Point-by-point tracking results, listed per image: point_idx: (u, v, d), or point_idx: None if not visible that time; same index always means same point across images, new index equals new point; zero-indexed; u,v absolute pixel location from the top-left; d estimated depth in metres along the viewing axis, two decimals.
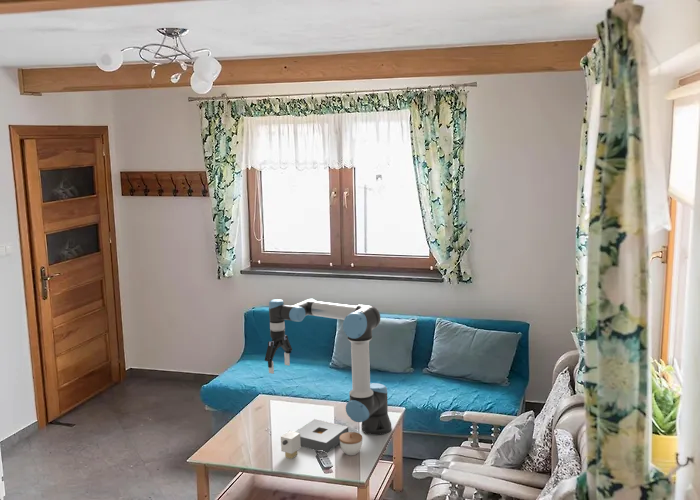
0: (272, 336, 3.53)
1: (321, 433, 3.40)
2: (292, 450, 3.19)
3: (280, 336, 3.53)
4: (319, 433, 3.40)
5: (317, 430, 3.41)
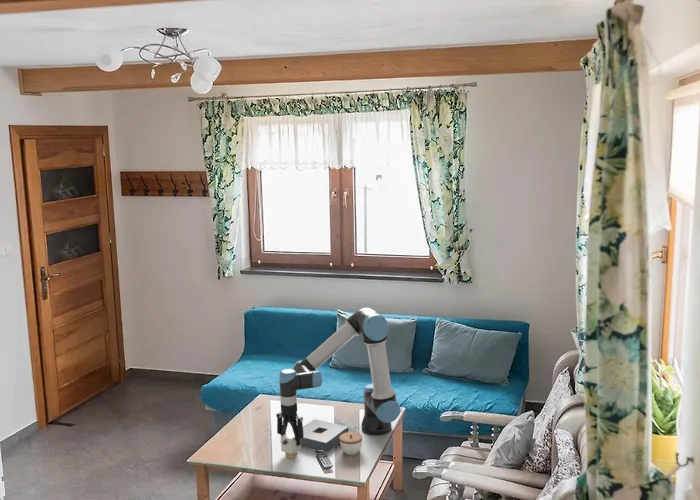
0: None
1: (321, 433, 3.40)
2: (292, 450, 3.19)
3: (281, 410, 3.18)
4: (319, 433, 3.40)
5: (317, 430, 3.41)
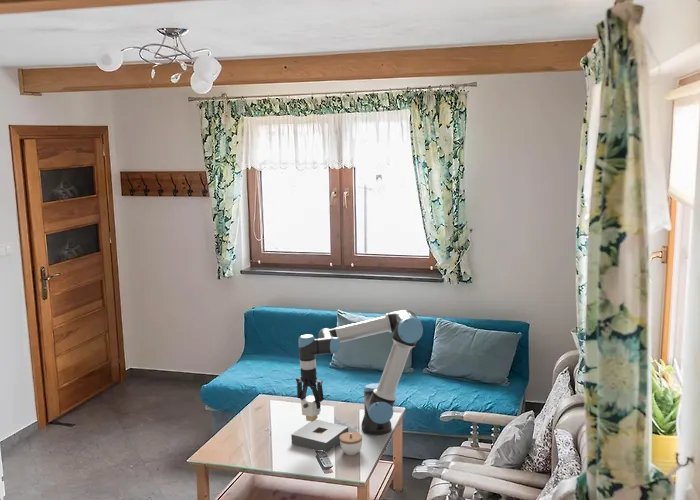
0: None
1: (321, 433, 3.40)
2: (313, 413, 3.27)
3: (301, 374, 3.26)
4: (319, 433, 3.40)
5: (317, 430, 3.41)
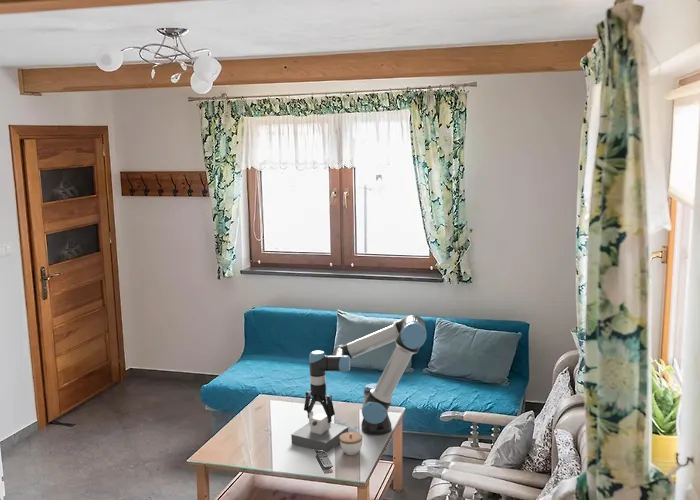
0: None
1: None
2: (321, 431, 3.34)
3: (311, 389, 3.33)
4: None
5: None
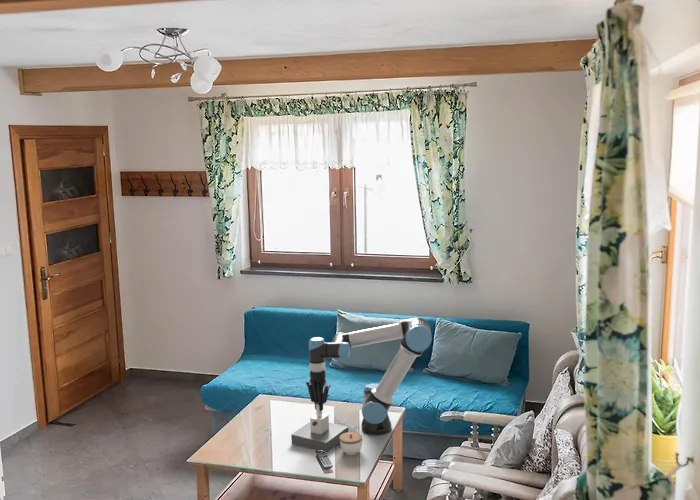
0: None
1: None
2: (321, 431, 3.34)
3: (310, 376, 3.32)
4: None
5: None
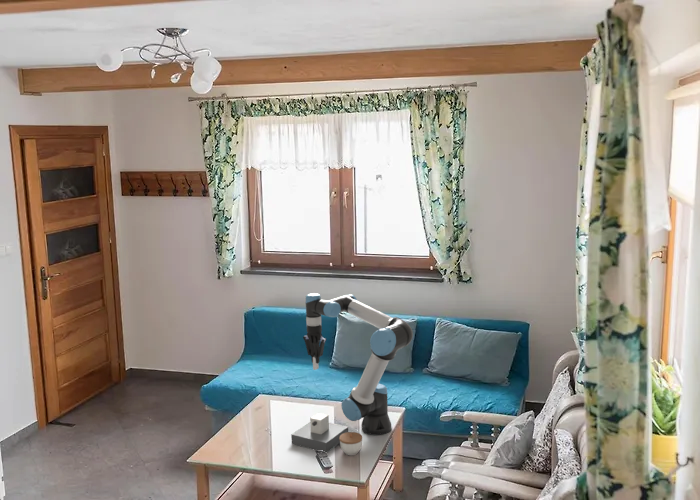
0: None
1: None
2: (321, 431, 3.34)
3: (307, 330, 3.48)
4: None
5: None
